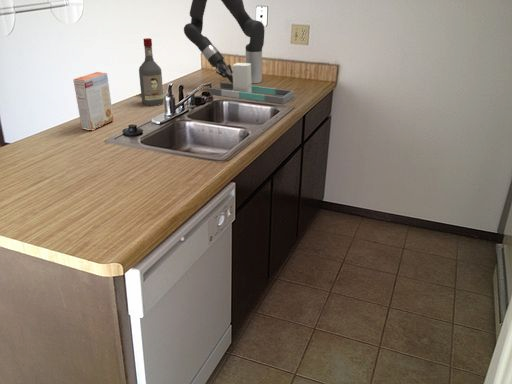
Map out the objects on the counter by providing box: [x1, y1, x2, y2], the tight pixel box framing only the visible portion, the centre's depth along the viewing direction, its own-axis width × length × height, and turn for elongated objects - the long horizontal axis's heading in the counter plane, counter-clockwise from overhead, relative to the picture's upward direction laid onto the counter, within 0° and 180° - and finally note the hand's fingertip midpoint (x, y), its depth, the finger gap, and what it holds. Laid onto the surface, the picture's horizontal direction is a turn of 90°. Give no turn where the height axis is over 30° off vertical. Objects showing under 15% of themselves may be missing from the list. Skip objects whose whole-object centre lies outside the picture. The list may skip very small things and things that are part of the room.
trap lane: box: [207, 81, 295, 105], centre depth 244 cm, size 15×42×3 cm, turn 66°
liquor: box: [138, 37, 165, 106], centre depth 222 cm, size 9×9×30 cm
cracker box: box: [73, 71, 114, 129], centre depth 193 cm, size 14×6×21 cm, turn 157°
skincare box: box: [231, 62, 253, 93], centre depth 243 cm, size 8×7×16 cm
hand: (234, 82), depth 245 cm, fingers closed
